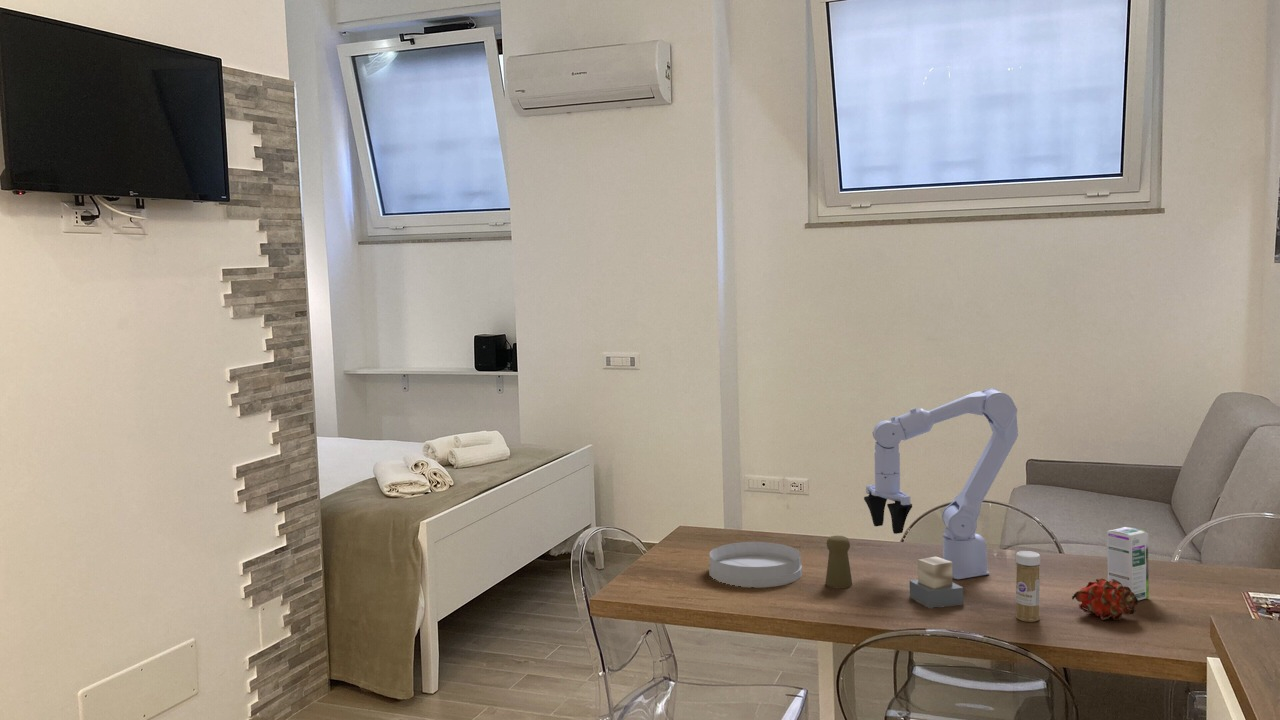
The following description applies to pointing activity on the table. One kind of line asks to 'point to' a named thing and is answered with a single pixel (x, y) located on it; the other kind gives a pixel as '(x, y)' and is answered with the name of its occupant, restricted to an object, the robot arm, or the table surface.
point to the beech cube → (935, 572)
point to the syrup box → (1129, 559)
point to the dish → (755, 564)
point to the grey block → (936, 594)
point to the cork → (838, 563)
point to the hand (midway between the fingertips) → (888, 529)
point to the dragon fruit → (1106, 599)
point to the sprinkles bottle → (1027, 586)
